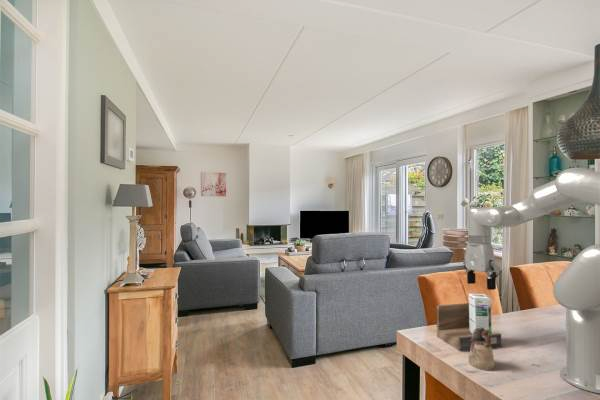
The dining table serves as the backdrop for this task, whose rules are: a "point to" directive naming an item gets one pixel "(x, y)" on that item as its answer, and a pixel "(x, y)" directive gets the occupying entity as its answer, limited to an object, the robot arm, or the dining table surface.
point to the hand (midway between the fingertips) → (481, 286)
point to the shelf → (458, 327)
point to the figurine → (481, 350)
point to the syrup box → (479, 312)
